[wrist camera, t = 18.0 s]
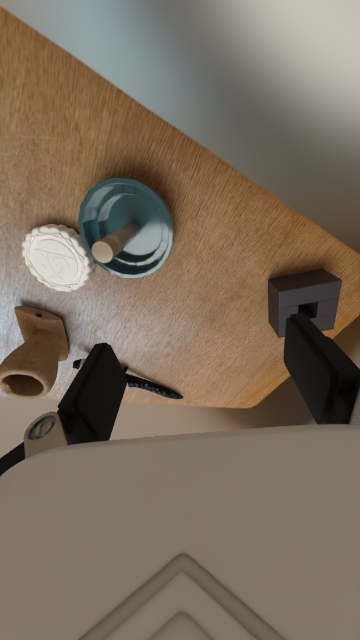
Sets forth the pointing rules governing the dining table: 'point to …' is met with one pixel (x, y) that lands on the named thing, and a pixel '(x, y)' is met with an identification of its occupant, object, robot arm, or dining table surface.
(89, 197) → the bowl
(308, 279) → the holder
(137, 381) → the knife
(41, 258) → the mooncake
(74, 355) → the dining table surface
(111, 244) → the stick
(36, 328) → the brown hollow clay piece
